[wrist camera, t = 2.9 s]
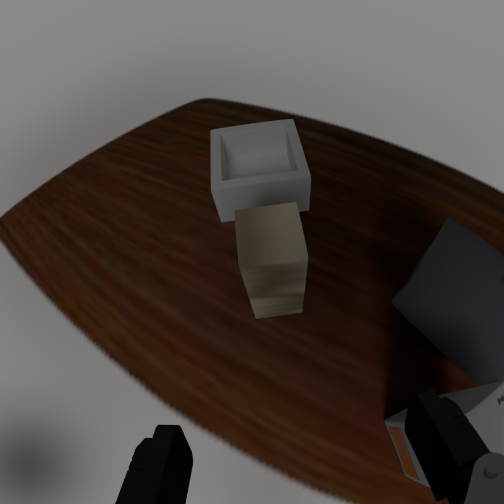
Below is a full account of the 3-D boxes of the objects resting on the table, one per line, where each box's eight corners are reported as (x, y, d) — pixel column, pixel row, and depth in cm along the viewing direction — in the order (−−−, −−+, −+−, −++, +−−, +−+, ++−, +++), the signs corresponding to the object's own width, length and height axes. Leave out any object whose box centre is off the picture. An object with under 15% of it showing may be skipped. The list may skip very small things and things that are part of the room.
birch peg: (295, 271, 28) (296, 201, 20) (302, 312, 26) (308, 256, 18) (251, 276, 29) (234, 210, 20) (255, 318, 27) (238, 265, 18)
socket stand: (293, 151, 36) (292, 118, 32) (309, 210, 32) (311, 177, 27) (219, 161, 36) (210, 130, 32) (221, 222, 32) (211, 190, 28)
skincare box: (381, 420, 21) (450, 419, 11) (423, 396, 21) (508, 374, 11) (404, 478, 18) (479, 510, 7) (445, 453, 18) (534, 460, 8)
